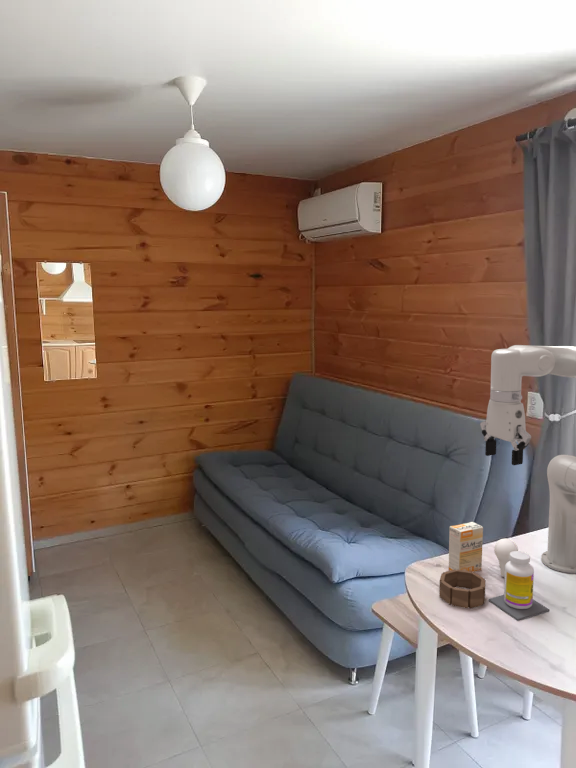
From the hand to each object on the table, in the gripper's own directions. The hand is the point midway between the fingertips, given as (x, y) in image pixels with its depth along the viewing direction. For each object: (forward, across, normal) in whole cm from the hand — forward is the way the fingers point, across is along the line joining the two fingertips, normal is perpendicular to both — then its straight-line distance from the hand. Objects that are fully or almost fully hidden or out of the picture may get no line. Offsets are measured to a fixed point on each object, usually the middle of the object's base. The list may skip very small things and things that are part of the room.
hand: (503, 459), depth 153 cm
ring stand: (+33, -4, +16) cm, 37 cm away
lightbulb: (+34, -1, -1) cm, 34 cm away
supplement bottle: (+33, -13, +6) cm, 36 cm away
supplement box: (+34, +7, +6) cm, 35 cm away
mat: (+33, -14, +6) cm, 37 cm away
